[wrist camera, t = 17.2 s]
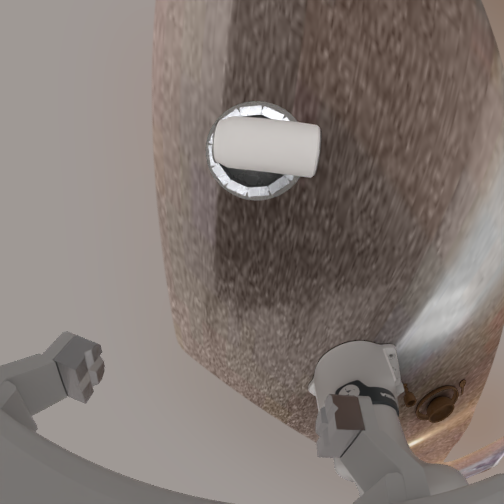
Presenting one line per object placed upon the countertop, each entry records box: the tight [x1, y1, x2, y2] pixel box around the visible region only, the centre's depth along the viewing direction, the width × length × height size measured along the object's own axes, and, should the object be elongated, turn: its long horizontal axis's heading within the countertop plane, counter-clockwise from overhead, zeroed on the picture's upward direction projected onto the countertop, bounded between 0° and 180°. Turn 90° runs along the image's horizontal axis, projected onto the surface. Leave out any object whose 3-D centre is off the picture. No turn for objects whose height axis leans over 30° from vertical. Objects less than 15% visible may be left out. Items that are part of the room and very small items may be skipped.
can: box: [212, 116, 321, 178], centre depth 34 cm, size 6×6×12 cm
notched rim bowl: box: [206, 101, 300, 200], centre depth 38 cm, size 14×14×3 cm
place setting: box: [401, 380, 466, 423], centre depth 51 cm, size 18×20×6 cm
